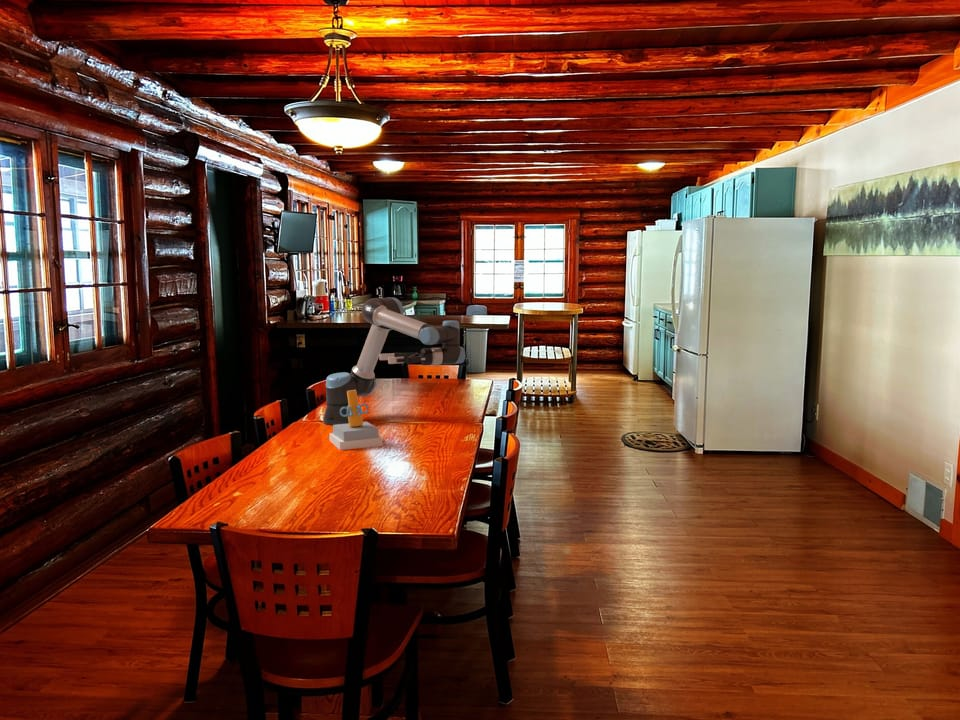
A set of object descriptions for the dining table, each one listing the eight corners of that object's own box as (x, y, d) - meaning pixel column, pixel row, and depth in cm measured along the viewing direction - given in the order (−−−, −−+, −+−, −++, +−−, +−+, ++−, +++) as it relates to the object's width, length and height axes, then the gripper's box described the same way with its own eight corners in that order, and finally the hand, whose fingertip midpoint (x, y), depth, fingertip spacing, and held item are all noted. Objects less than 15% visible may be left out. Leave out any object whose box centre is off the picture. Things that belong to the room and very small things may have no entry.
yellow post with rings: (360, 427, 297) (356, 391, 296) (338, 429, 300) (333, 393, 299) (373, 422, 309) (369, 387, 308) (352, 423, 312) (347, 389, 311)
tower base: (329, 442, 310) (329, 433, 310) (370, 438, 318) (370, 429, 317) (340, 451, 294) (339, 442, 293) (382, 447, 301) (382, 438, 301)
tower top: (333, 434, 308) (333, 424, 308) (366, 430, 315) (366, 421, 315) (343, 441, 295) (343, 431, 294) (378, 437, 302) (378, 428, 301)
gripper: (440, 368, 307) (392, 371, 299) (421, 361, 330) (376, 364, 321) (440, 351, 306) (392, 353, 298) (421, 345, 329) (376, 347, 320)
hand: (384, 358), depth 309 cm, fingers open, 13 cm apart
